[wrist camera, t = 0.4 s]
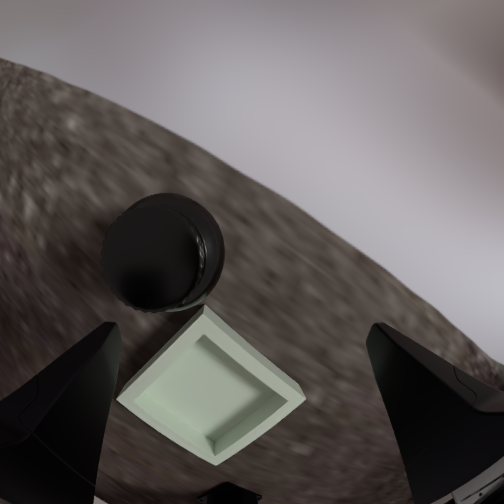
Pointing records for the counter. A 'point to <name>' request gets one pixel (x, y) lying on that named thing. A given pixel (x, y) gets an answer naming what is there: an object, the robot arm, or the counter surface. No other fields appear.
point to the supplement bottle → (163, 254)
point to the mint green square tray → (210, 390)
